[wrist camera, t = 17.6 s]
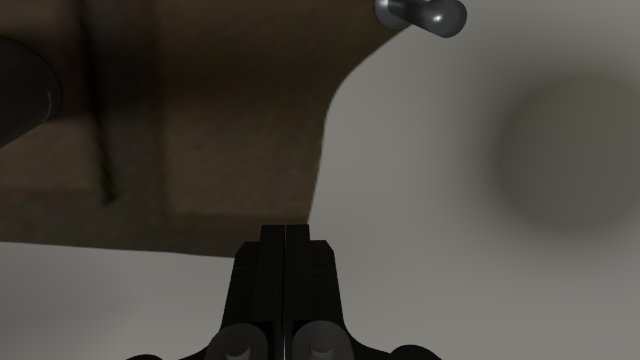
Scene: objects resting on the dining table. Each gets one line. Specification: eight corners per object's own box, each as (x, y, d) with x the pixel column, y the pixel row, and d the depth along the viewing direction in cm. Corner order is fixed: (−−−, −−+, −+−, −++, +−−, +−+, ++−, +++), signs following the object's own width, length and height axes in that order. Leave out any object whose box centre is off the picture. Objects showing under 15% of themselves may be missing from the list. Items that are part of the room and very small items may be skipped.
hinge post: (364, 12, 36) (399, 32, 24) (393, -37, 34) (447, -40, 22) (401, 38, 38) (451, 70, 26) (431, -6, 36) (501, 5, 24)
